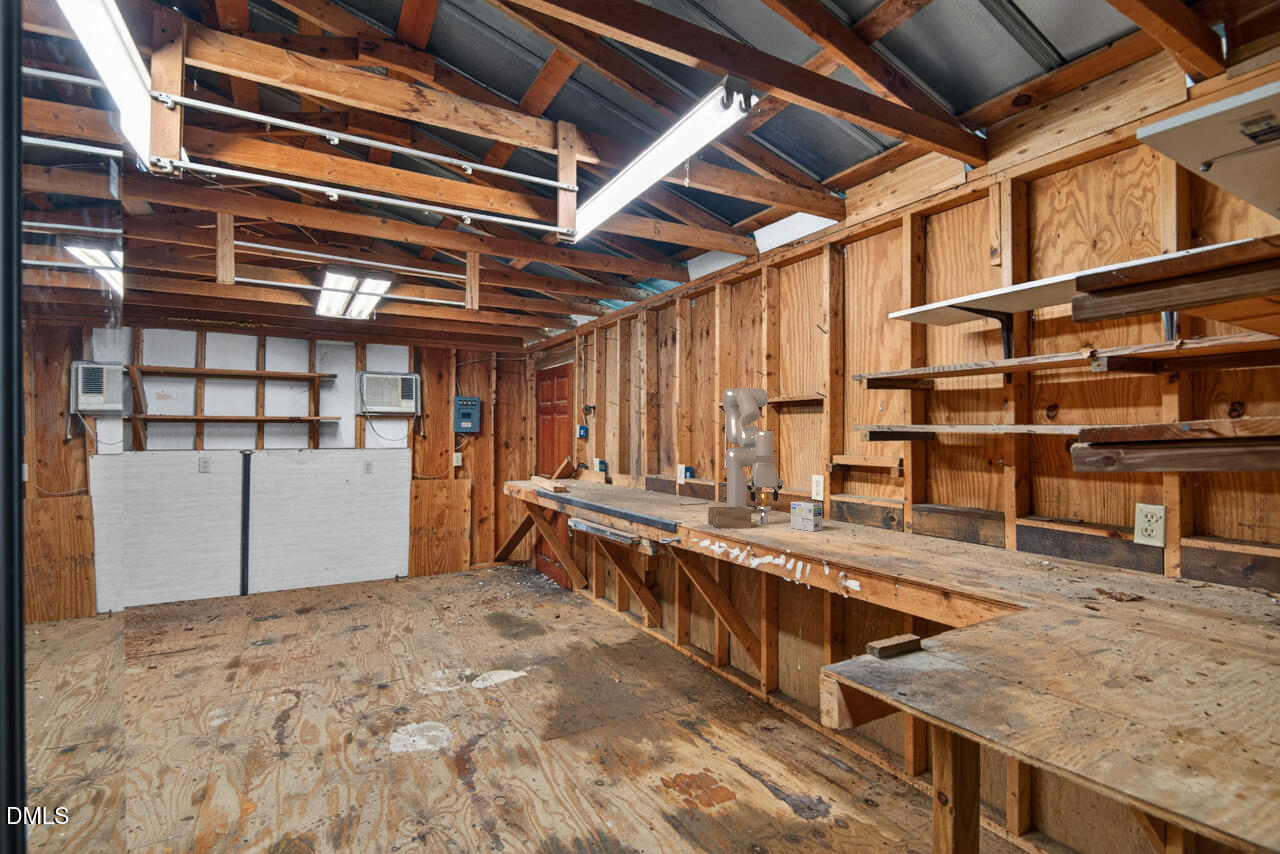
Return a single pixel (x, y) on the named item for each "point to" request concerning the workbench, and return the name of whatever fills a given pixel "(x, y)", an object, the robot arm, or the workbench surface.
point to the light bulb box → (806, 516)
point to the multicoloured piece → (764, 508)
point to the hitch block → (729, 517)
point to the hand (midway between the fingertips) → (764, 501)
